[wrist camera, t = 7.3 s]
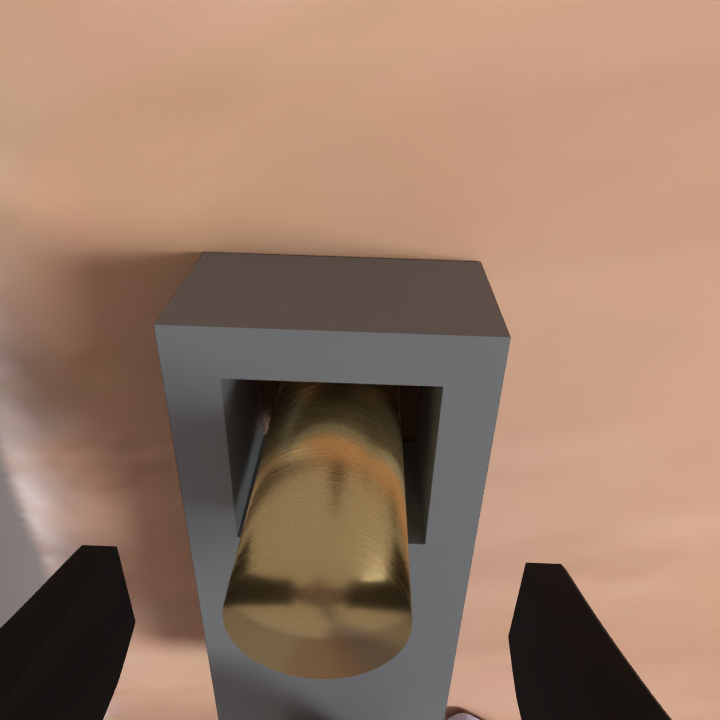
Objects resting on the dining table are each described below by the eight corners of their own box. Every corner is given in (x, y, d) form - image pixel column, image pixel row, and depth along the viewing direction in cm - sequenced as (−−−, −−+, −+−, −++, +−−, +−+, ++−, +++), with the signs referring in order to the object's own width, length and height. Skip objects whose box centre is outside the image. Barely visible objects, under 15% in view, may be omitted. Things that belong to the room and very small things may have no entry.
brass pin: (353, 436, 18) (338, 699, 11) (263, 381, 17) (187, 631, 10) (421, 364, 17) (452, 613, 10) (328, 300, 16) (291, 526, 9)
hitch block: (427, 652, 23) (436, 764, 20) (246, 645, 24) (224, 755, 20) (480, 261, 15) (510, 337, 12) (203, 252, 15) (153, 324, 12)
